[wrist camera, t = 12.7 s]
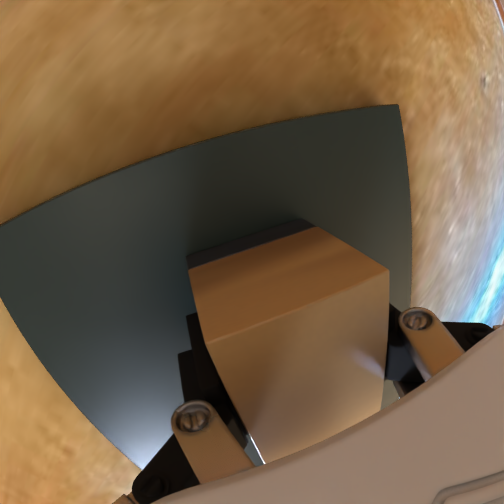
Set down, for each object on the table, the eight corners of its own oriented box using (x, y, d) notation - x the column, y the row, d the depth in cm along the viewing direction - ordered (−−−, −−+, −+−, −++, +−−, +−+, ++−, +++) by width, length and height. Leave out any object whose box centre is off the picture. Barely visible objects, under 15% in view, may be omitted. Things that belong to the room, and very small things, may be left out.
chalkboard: (-15, 233, 9) (-27, 241, 8) (384, 104, 11) (399, 103, 11) (180, 491, 18) (182, 501, 17) (388, 409, 20) (395, 416, 20)
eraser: (184, 256, 10) (204, 343, 6) (302, 217, 11) (390, 269, 7) (236, 387, 13) (270, 474, 9) (323, 353, 14) (378, 424, 9)
